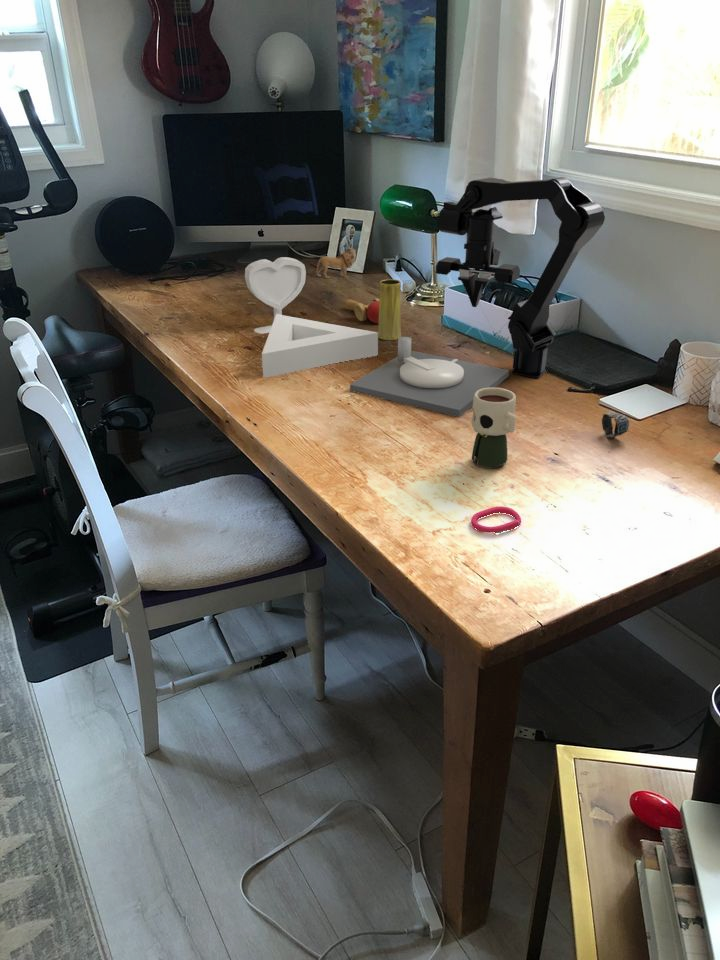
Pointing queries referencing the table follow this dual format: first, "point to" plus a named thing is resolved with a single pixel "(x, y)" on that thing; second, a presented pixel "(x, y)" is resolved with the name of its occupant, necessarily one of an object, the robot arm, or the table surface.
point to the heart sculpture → (275, 283)
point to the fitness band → (497, 528)
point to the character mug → (492, 425)
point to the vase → (389, 310)
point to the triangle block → (313, 345)
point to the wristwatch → (620, 426)
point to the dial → (427, 369)
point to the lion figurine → (337, 262)
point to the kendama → (364, 310)
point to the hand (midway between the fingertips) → (474, 306)
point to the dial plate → (441, 400)
